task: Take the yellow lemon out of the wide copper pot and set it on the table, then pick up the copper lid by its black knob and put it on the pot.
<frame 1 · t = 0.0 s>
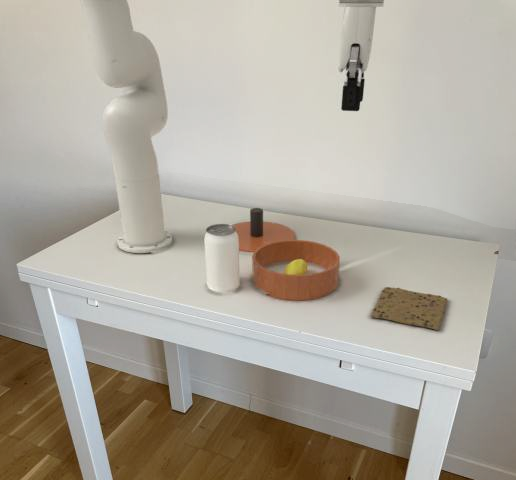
hand: (352, 105, 100), 31 cm above the table, tool pointing down, fingers open, 9 cm apart
lid: (256, 236, 127), point 1 cm above the table
lemon: (295, 280, 109), resting on pot
can: (223, 287, 107), on the table
pot: (295, 280, 109), on the table
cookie: (409, 309, 99), on the table
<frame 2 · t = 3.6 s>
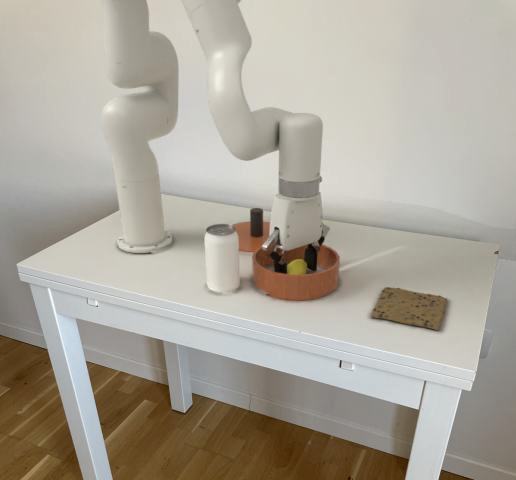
hand: (295, 273, 109), 1 cm above the table, tool pointing down, fingers closed on lemon, 7 cm apart
lemon: (294, 280, 109), resting on pot, touching gripper
everything else where it was.
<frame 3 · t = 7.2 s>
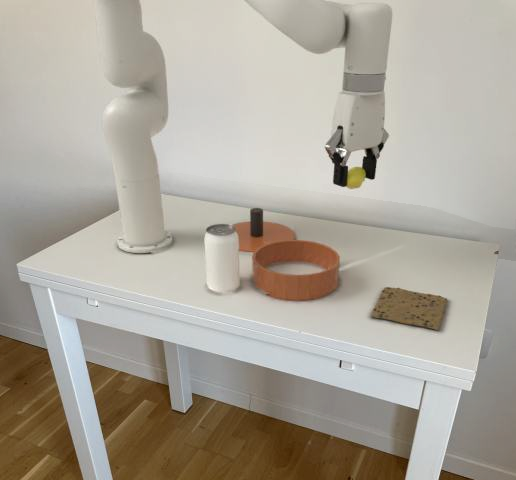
hand: (354, 181, 107), 17 cm above the table, tool pointing down, fingers closed on lemon, 7 cm apart
lemon: (353, 188, 108), point 16 cm above the table, touching gripper
everything else where it was.
when the fingers open (1 cm above the table, at t = 10.9 s): lemon stays where it is, on the table.
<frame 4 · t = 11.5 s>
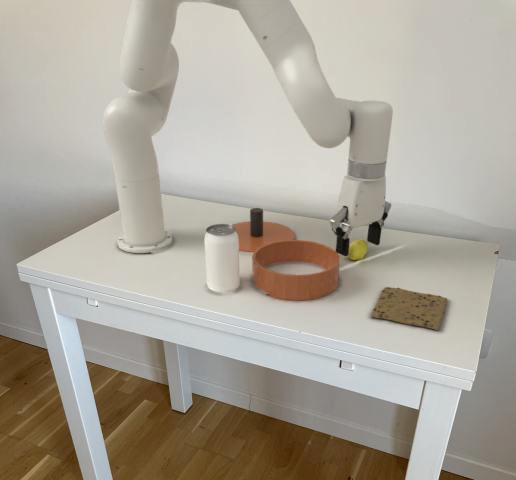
hand: (357, 248, 117), 2 cm above the table, tool pointing down, fingers open, 9 cm apart
lemon: (356, 258, 119), on the table
everything else where it was.
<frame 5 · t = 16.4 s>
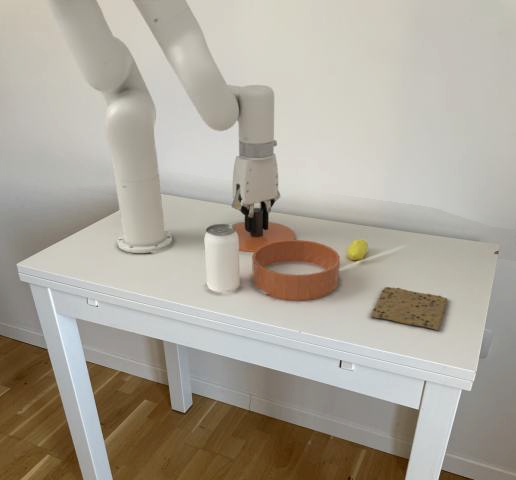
hand: (256, 229, 126), 2 cm above the table, tool pointing down, fingers closed on lid, 3 cm apart
lid: (256, 236, 127), point 1 cm above the table, touching gripper
everything else where it was.
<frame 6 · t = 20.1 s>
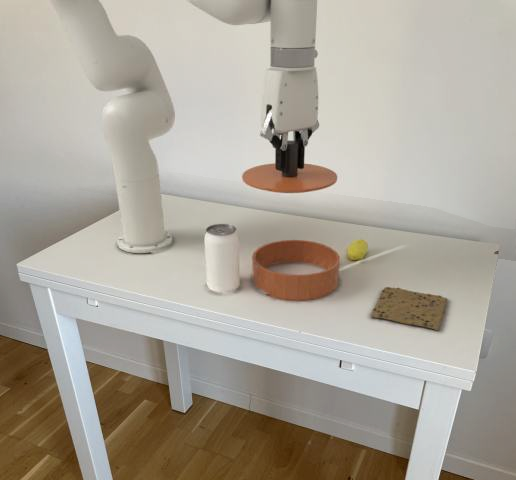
hand: (289, 168, 101), 21 cm above the table, tool pointing down, fingers closed on lid, 3 cm apart
lid: (289, 177, 102), point 19 cm above the table, touching gripper
everything else where it was.
when the fingers open (7 cm above the table, at t = 23.9 s): lid stays where it is, resting on pot.
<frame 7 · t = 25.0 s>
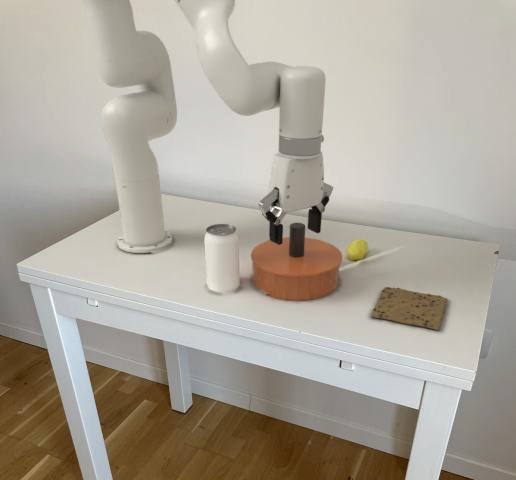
hand: (295, 236, 105), 9 cm above the table, tool pointing down, fingers open, 9 cm apart
lid: (296, 256, 106), point 5 cm above the table, touching pot
everything else where it was.
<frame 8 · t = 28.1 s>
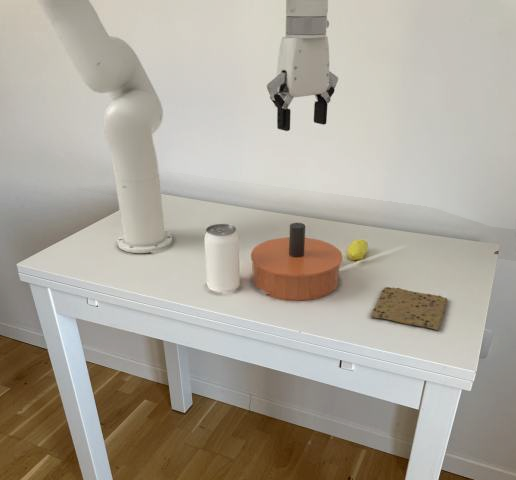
hand: (302, 126, 108), 26 cm above the table, tool pointing down, fingers open, 9 cm apart
nothing on the table moved.
at the end: lemon inside the target area (0.1 cm from its centre), on the table; lid 0.1 cm off-centre on the pot, point 5.2 cm above the pot's base; lid tilted 0° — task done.
